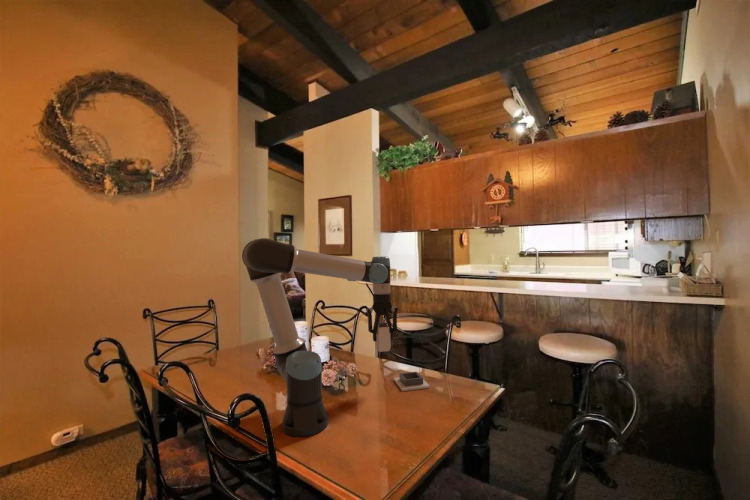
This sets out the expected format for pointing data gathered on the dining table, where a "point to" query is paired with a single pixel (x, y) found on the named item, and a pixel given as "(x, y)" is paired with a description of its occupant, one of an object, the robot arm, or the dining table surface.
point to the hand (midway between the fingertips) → (383, 348)
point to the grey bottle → (383, 337)
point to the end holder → (411, 381)
